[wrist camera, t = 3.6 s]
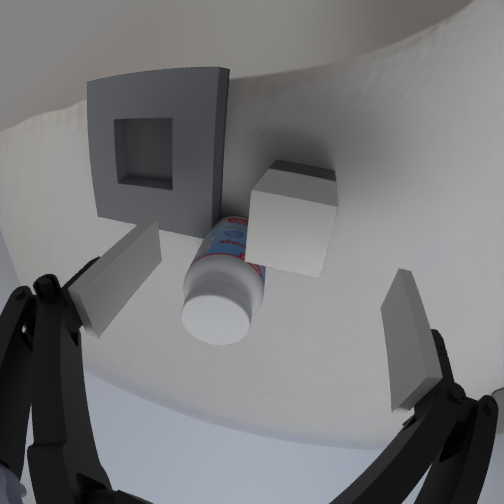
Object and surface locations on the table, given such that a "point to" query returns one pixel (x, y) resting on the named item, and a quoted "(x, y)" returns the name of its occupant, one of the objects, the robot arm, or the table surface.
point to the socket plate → (159, 147)
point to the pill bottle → (222, 285)
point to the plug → (292, 218)
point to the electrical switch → (500, 410)
